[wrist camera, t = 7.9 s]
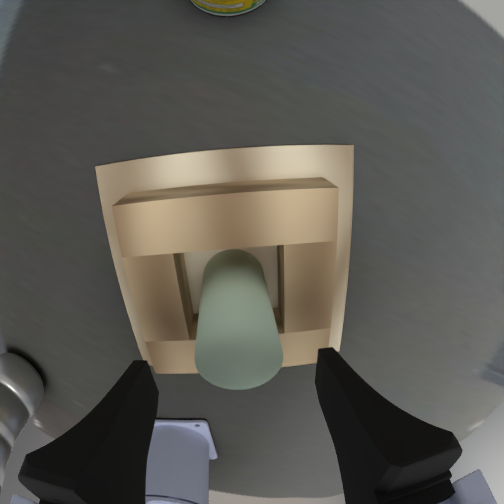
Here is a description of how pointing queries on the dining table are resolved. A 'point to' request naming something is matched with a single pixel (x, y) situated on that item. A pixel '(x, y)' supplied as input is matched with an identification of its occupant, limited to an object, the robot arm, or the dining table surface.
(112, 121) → the dining table surface
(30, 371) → the plastic bottle
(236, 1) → the supplement bottle
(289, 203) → the socket block
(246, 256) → the dowel
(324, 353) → the robot arm
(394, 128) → the dining table surface
